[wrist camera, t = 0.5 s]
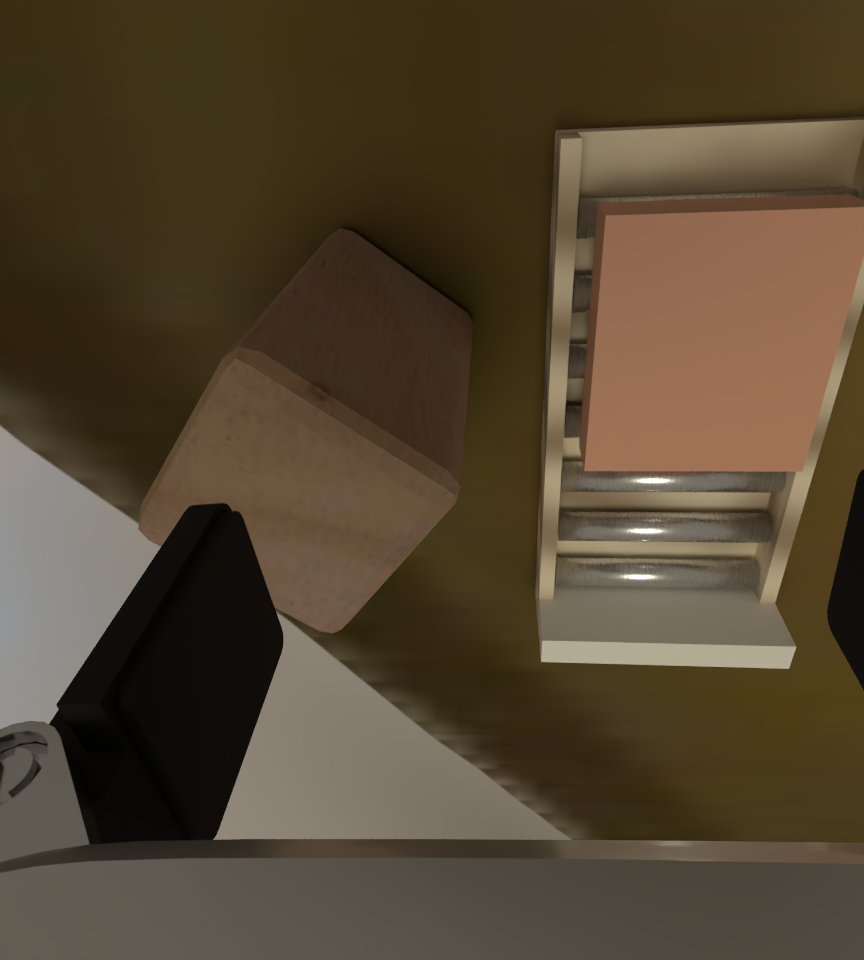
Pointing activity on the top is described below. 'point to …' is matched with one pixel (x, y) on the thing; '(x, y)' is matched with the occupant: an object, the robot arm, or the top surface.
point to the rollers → (657, 481)
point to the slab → (715, 330)
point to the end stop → (662, 627)
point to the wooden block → (330, 430)
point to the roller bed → (588, 174)
